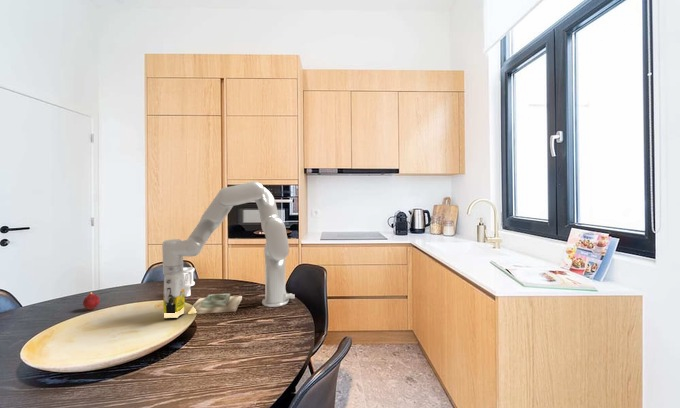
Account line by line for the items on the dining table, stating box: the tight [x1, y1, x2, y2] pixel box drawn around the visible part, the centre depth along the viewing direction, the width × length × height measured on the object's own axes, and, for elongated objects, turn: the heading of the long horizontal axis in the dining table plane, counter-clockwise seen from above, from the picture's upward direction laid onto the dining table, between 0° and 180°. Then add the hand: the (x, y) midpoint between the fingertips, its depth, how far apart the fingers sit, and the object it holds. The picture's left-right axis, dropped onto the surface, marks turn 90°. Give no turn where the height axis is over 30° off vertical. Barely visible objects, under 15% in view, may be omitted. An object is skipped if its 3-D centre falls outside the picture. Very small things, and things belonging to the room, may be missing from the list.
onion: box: [82, 291, 101, 311], centre depth 129 cm, size 6×6×8 cm
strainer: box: [183, 266, 196, 298], centre depth 147 cm, size 7×7×15 cm
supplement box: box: [162, 289, 186, 314], centre depth 121 cm, size 6×6×11 cm
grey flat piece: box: [192, 293, 243, 315], centre depth 133 cm, size 20×16×4 cm
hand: (174, 310), depth 121 cm, fingers closed on supplement box, 6 cm apart
